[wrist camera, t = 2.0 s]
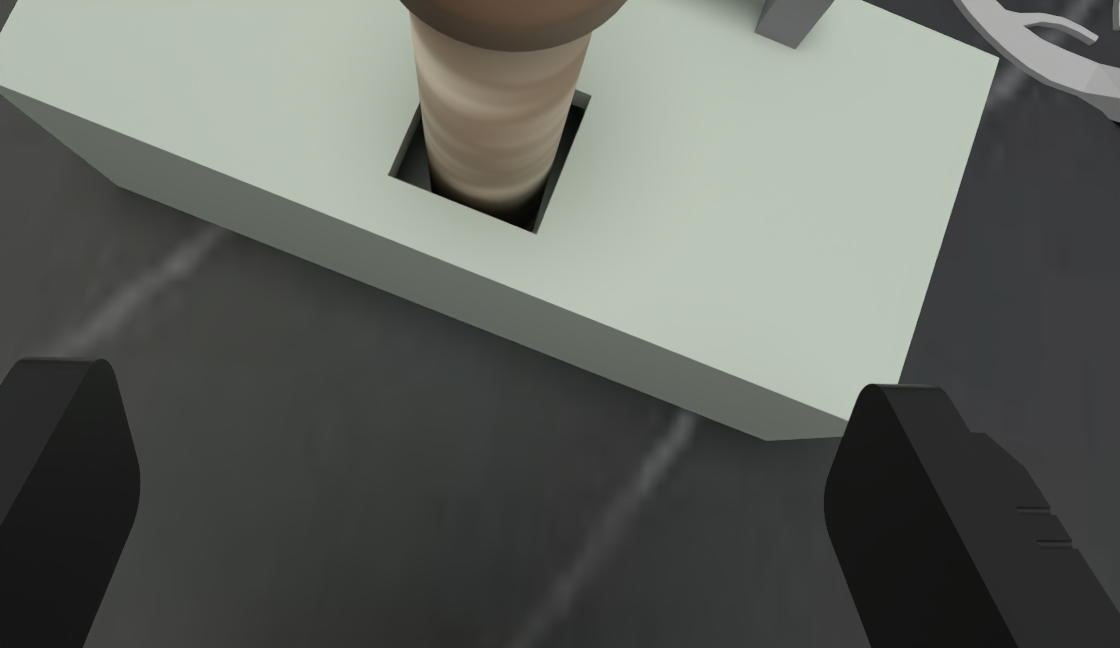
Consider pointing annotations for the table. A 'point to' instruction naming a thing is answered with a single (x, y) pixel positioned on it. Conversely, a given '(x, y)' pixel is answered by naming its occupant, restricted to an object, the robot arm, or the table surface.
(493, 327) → the toolbox
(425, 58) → the beige long cylinder
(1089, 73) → the pliers
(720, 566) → the table surface
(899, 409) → the robot arm
